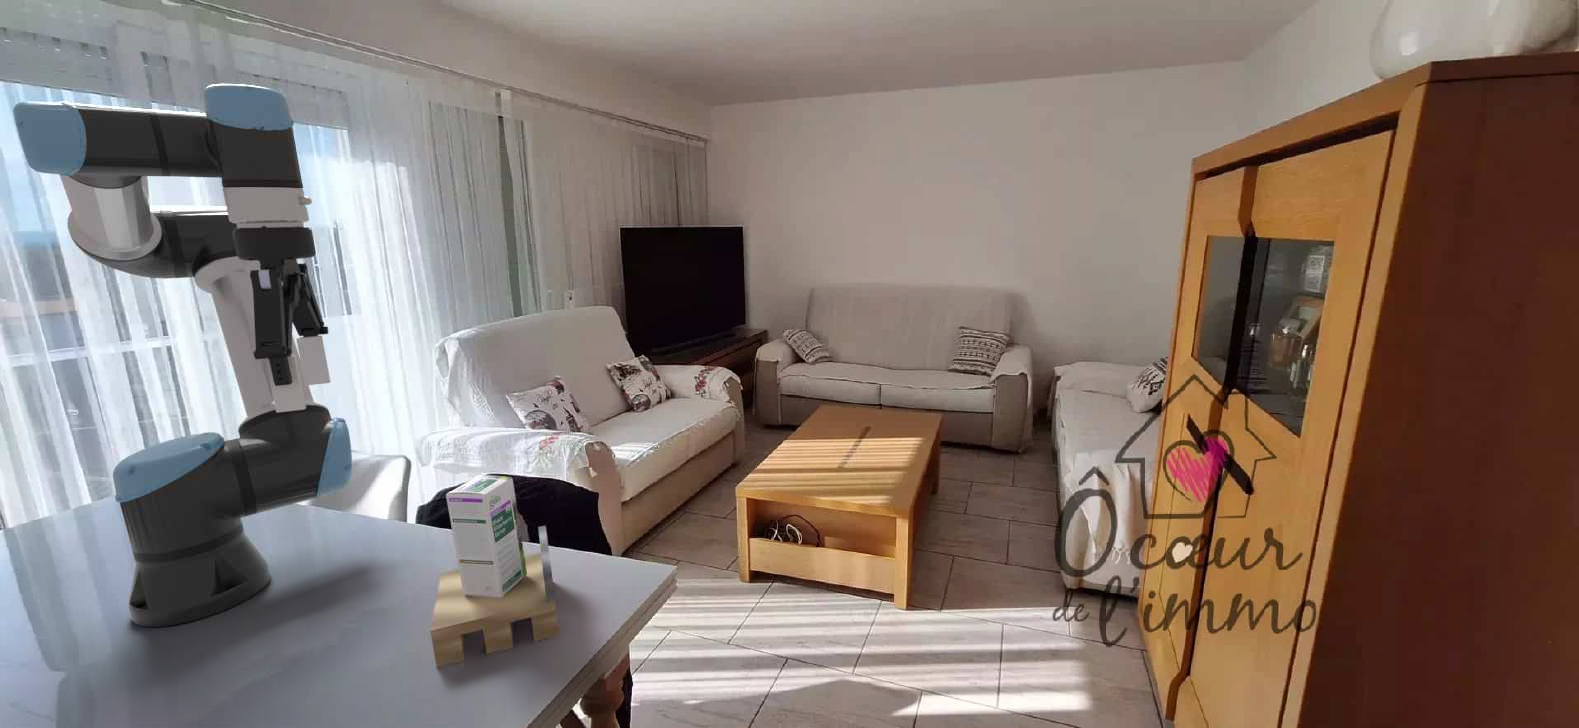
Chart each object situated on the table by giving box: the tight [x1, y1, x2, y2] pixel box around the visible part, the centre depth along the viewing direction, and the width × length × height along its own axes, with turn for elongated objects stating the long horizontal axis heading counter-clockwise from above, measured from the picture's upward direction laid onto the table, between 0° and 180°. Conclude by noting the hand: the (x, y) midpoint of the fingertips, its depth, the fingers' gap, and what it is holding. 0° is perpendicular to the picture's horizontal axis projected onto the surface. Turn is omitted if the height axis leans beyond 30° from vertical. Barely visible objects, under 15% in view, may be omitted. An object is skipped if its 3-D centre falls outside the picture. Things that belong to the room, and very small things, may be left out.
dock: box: [429, 525, 560, 668], centre depth 84 cm, size 14×14×9 cm
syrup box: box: [445, 475, 527, 598], centre depth 83 cm, size 6×6×14 cm
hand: (305, 396), depth 81 cm, fingers open, 13 cm apart
